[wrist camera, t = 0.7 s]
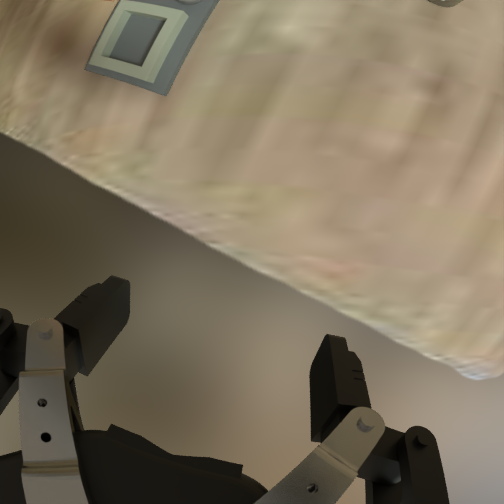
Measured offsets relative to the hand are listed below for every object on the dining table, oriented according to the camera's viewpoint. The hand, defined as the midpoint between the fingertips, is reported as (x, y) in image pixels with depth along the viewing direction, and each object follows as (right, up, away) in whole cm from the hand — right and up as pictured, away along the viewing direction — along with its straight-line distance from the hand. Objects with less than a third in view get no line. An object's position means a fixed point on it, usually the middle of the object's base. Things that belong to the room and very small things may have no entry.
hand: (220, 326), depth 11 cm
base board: (-12, +33, +18) cm, 39 cm away
